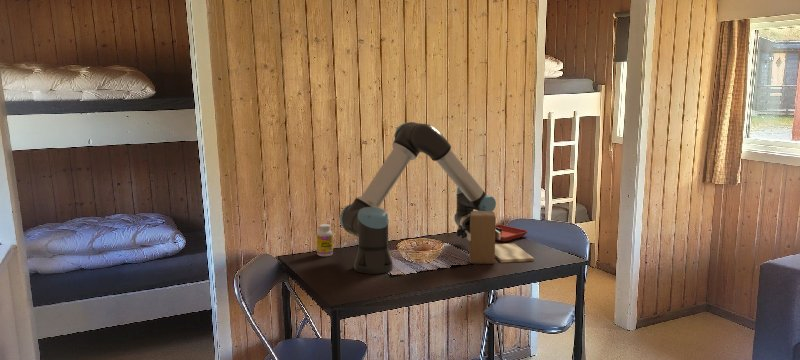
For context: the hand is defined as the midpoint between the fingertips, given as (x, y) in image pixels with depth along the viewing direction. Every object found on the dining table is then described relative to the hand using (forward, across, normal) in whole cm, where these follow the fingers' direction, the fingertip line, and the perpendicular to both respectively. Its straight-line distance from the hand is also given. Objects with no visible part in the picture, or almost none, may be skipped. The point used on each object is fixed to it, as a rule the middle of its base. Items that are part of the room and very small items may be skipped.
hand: (484, 236), depth 250 cm
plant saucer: (-42, +21, +12) cm, 49 cm away
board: (-12, +14, +11) cm, 22 cm away
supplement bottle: (-23, -63, +11) cm, 68 cm away
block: (-4, 0, +11) cm, 12 cm away
